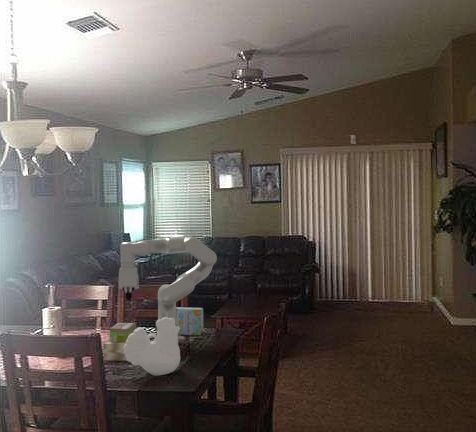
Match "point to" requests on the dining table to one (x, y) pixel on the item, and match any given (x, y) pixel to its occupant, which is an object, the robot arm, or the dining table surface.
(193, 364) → the dining table surface
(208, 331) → the dining table surface
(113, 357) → the maple board
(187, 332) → the snack box
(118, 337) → the tea box
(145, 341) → the decorative rooster
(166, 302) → the robot arm
